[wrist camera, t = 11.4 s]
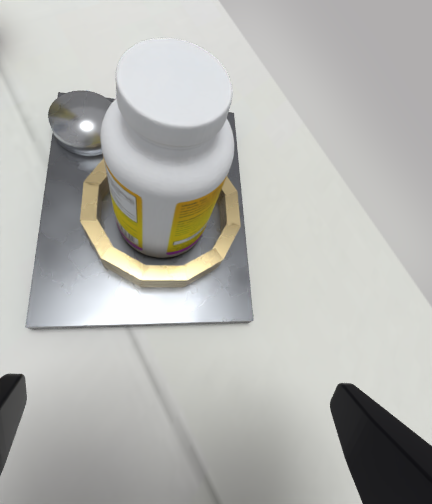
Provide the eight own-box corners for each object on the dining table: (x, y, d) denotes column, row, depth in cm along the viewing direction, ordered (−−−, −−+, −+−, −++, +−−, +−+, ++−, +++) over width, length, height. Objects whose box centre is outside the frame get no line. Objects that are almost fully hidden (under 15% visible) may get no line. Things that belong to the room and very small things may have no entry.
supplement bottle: (211, 194, 26) (267, 50, 14) (195, 269, 24) (246, 170, 12) (129, 171, 25) (118, -2, 14) (103, 247, 23) (61, 117, 11)
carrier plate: (249, 322, 24) (262, 316, 21) (30, 329, 21) (13, 322, 18) (231, 120, 31) (239, 95, 28) (61, 101, 27) (52, 71, 25)
